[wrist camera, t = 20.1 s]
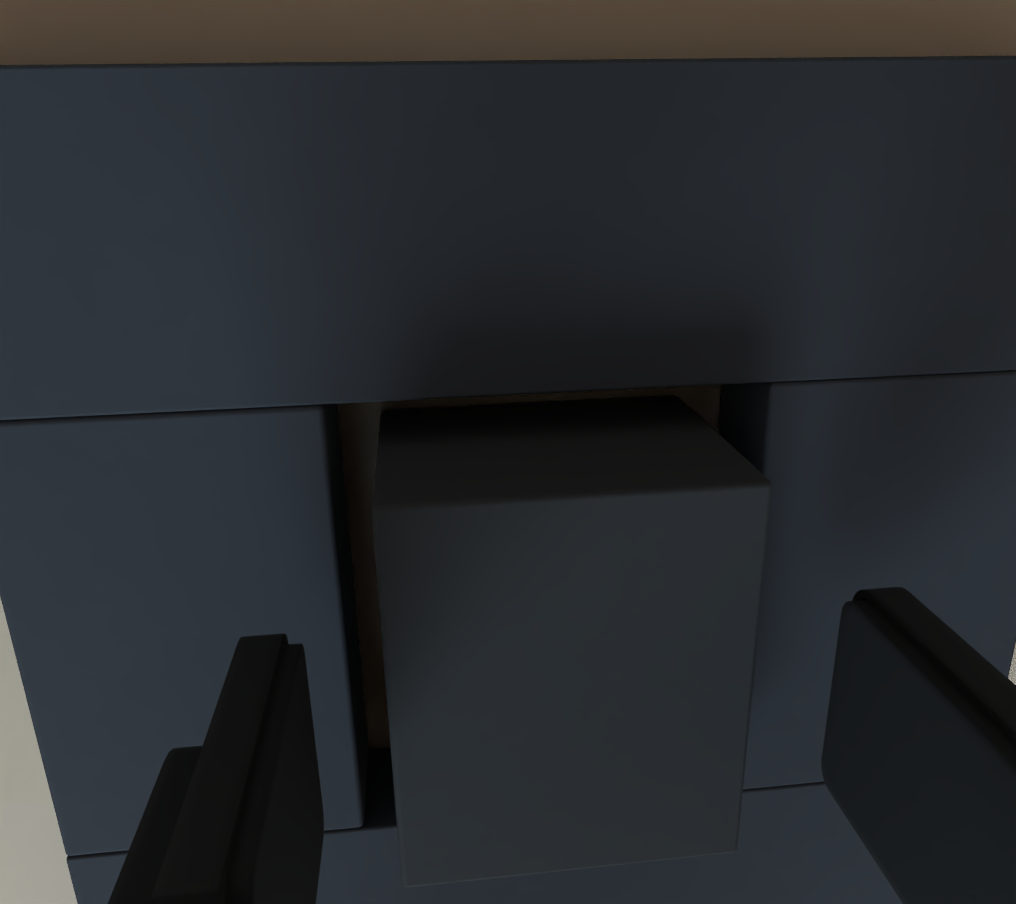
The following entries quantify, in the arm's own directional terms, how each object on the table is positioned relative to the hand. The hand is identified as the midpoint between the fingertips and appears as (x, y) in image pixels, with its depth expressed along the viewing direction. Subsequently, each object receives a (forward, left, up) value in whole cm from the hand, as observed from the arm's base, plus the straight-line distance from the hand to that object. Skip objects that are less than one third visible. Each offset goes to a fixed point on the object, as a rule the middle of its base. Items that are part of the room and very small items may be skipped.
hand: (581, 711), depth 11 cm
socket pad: (0, 0, -4) cm, 4 cm away
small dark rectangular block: (0, 0, -4) cm, 4 cm away
